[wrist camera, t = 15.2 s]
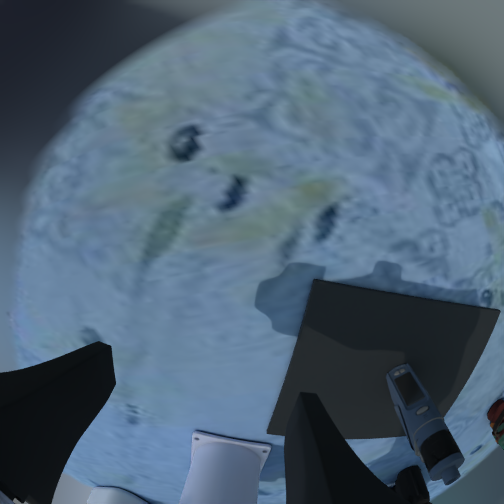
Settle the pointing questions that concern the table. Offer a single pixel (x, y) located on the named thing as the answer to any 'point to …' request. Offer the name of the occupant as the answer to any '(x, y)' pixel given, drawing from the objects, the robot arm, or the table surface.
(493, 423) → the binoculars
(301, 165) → the table surface
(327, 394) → the mat
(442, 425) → the vaping device
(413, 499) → the film camera
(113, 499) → the plastic bottle
